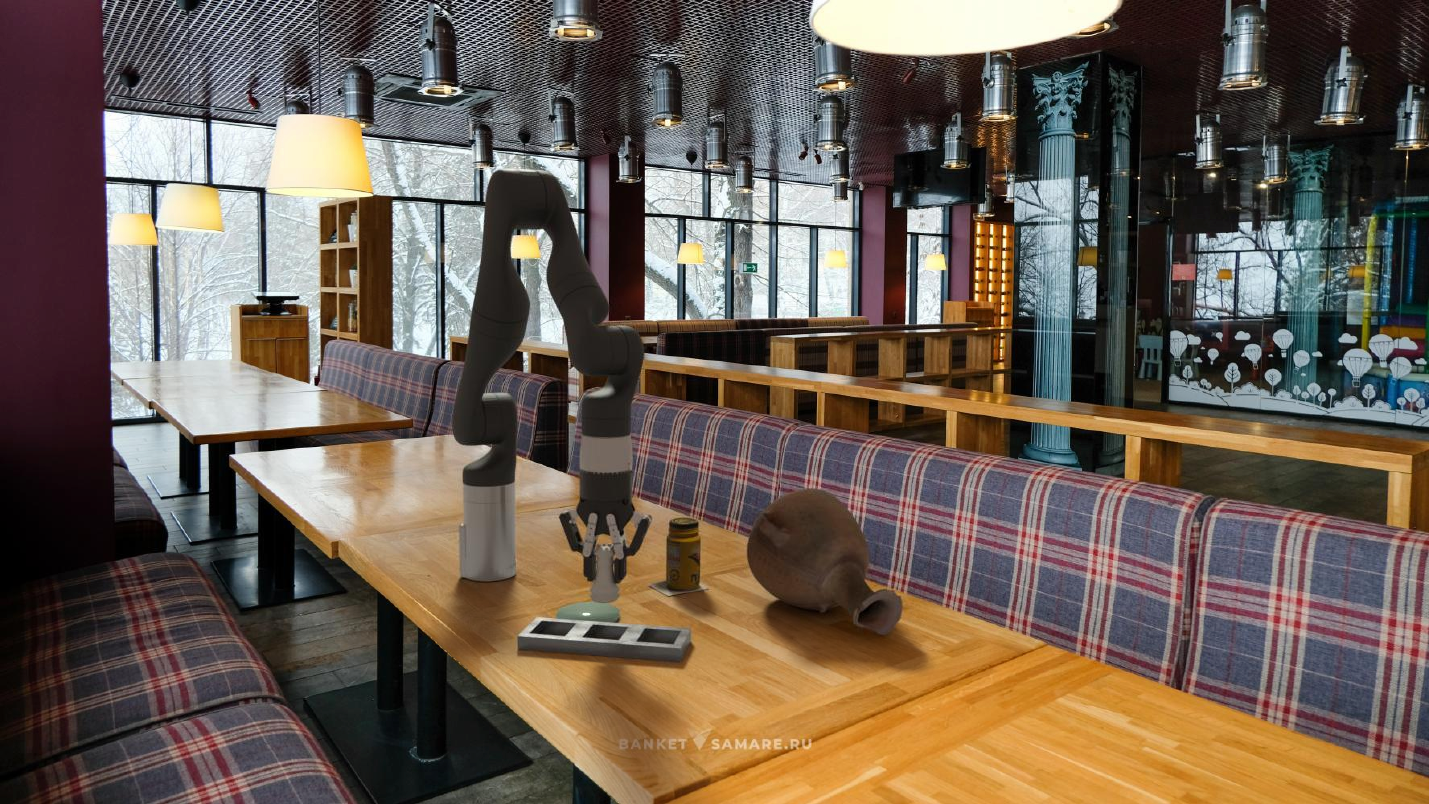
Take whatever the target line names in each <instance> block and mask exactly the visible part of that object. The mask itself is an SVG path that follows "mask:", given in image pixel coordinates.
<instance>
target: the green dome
mask: <svg viewBox="0 0 1429 804" xmlns="http://www.w3.org/2000/svg"><path fill="white" fill-rule="evenodd" d="M620 614H621V611H620V608H619V607H617V606H616V605H613V604H611V603H598V602H594V601H585V602H583V601H581V602H576V603H570V604H567V605H564V606H562V607H560V608H558V609H557V611H556V617H555V619H568V620H582V621H596V622H610V623H617V622H618V621H619V620H620V617H621V615H620Z"/></svg>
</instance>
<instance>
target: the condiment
mask: <svg viewBox="0 0 1429 804" xmlns="http://www.w3.org/2000/svg"><path fill="white" fill-rule="evenodd" d="M699 524H700V523H699V521H698V520H697V519H695V518H693V517H675V518H671V519H670V520H669V523H668V533H667V536H666V541H665V542H666V552H665V553H666V554H665V555H666V557H665V559H666V561H665V562H666V563H665V580H662V581H659V582H658V581H657V582H649V583H647V585H648V586H649V587H651V588H653V589H654V590H656V591H657V592H659V593H662V594H663V595H665V596H667V597H670V596H677V595H680V594H681V595H682V594H685V593H694V592H698V591H703V590H709V589H710V587H709V586H706V585H704V584H701V583H700V582H701V545H702V543H701V539H702V538H701V535H700V534H699V532H700V530H699Z"/></svg>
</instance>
